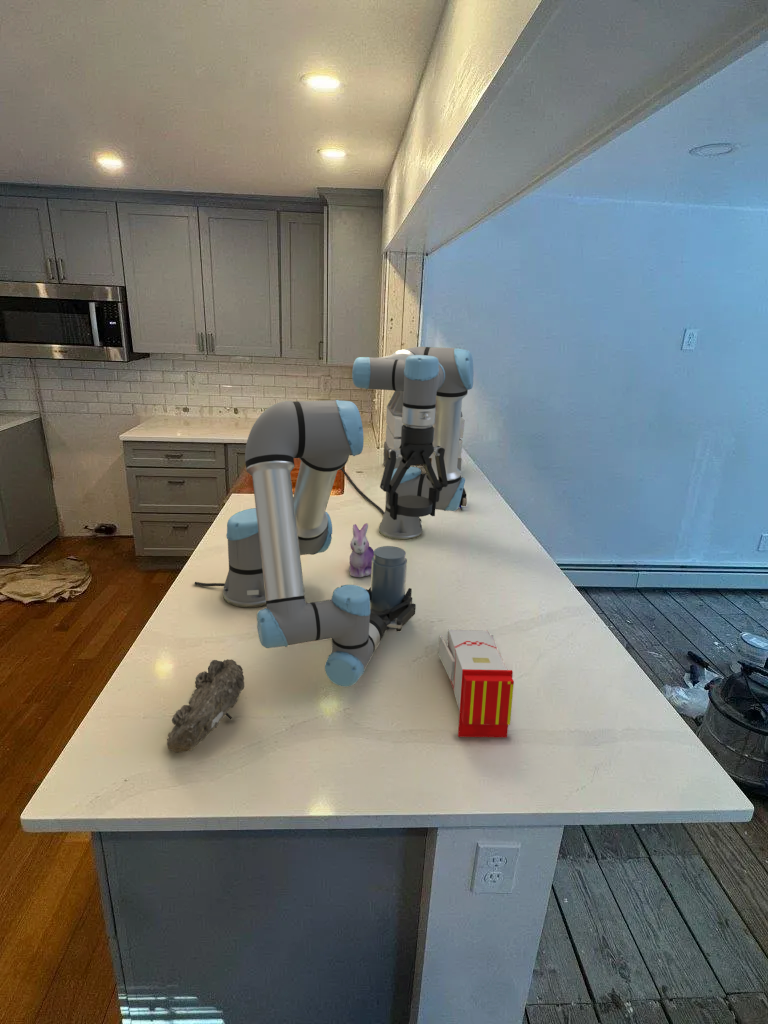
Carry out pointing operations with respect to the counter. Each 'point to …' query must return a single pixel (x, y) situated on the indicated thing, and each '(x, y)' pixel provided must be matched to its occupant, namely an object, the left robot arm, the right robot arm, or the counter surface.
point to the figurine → (360, 553)
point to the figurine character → (463, 499)
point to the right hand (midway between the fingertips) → (412, 515)
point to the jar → (387, 578)
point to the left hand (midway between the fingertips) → (392, 589)
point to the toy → (478, 682)
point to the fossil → (206, 705)
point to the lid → (414, 506)
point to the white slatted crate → (396, 426)
